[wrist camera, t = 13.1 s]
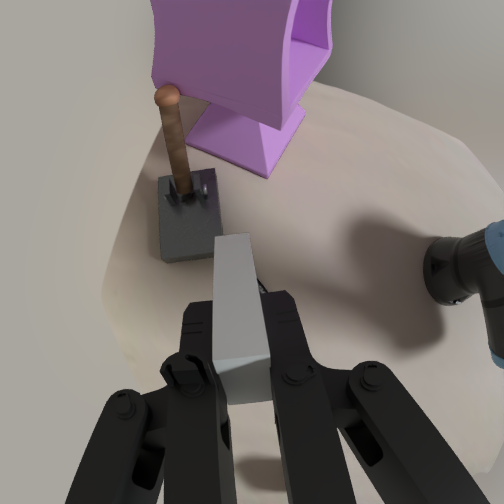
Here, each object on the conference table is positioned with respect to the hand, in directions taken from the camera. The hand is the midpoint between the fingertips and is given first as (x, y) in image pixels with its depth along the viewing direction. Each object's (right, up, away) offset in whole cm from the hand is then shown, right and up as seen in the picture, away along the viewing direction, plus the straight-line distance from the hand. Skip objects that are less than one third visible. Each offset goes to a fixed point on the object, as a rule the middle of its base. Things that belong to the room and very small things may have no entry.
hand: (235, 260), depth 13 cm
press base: (-11, +7, +40) cm, 42 cm away
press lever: (-11, +11, +35) cm, 38 cm away
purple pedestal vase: (0, +28, +45) cm, 53 cm away
